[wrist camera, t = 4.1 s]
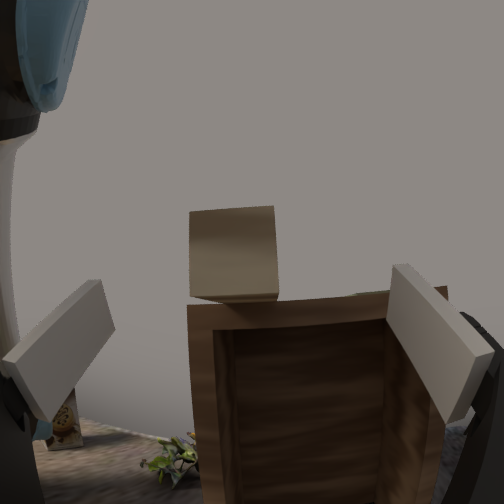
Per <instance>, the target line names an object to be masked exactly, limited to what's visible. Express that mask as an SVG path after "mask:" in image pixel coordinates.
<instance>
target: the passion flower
mask: <svg viewBox="0 0 504 504" xmlns="http://www.w3.org/2000/svg"><path fill="white" fill-rule="evenodd" d="M187 435H189V436H190V437H191V438H192V439H194V440H195V443H194V444H191V445H190V443H188V442H187V441H185V440H183V439H181V438H180V439H181V440H180V439H179V438H178V437H172V438H171V439H170V438H169V441H171V442H167V441H164V440H161V439H160V438H159V437H158V438H157V439H158V442H159V443H160V444H162V445H163V446H164V448H163V451H162V454H164V453H168V452H169V454H170V455H169V456H168V457H167V458H165V457H163V456H157V457H156V458H155V459H154V460H153V461H152V462H150V463H146V459H142V461H141V463H140V466H141V467H142V468H143V464H144V463H145V464H148V468H149V470H150V472H152V471H156V470H159V471H161V470H162V471H161V473H160V476H159V482H160V484H162V480H163V477H164V475H165V474H166V473H167V472H169V473H171V475H172V480H173V487H172V489H171V490H173V488H174V487H175V485H176V484H177V482H179V480H180V479H182V478H183V475H184V474H185V473H186V472H187V471H188V470H189V469H190V468H191V467H193V466H194V465H195V467H196V470H197V471H198V472H199V464H198V456H197V447H196V438H195V434H194V433H189V432H187ZM178 453H179V454H180V455H178V456H176V455H177V454H178ZM181 459H183V463H184V462H186V463H193V464H192V465H191V466H190V467H188V468H187V470H185V471H184V472H183V473H180V472H181V469H182V466H183V463H182V465H181V467H180V469H176V468H175V466H174V462H175V461H177V460H181ZM170 468H172V469H174V470H175V471H176V472H177V473H175V472H171V471H169V469H170ZM199 473H200V472H199Z"/></svg>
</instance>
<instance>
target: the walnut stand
mask: <svg viewBox="0 0 504 504" xmlns="http://www.w3.org/2000/svg"><path fill="white" fill-rule="evenodd" d="M434 288H435V289H436V290H437V291H438V292H439V293H440V294H441V295H442V296H443V297H444V298H445V299H446V300H447V301H448V290H447V286H440V287H434ZM389 296H390V290H387V291H377V292H366V293H356V294H352V295H348V296H345V297H335V298H321V299H307V300H292V301H274V302H255V303H232V304H203V305H202V304H200V305H187V324H188V347H189V365H190V380H191V393H192V405H193V418H194V428H195V438H196V447H197V456H198V464H199V472H200V480H201V487H202V494H203V501H204V504H365V503H370V502H374V503H375V504H431V500H432V496H433V492H434V488H435V484H436V479H437V475H438V470H439V465H440V459H441V454H442V448H443V441H444V434H445V425H446V424H445V422H444V420H443V418H442V416H441V415H440V413H439V411H438V409H437V407H436V405H435V403H434V401H433V399H432V398H431V396H430V394H429V392H428V390H427V388H426V387H425V385H424V383H423V381H422V379H421V378H420V376H419V374H418V372H417V371H416V369H415V367H414V365H413V364H412V362H411V360H410V358H409V357H408V355H407V353H406V352H405V350H404V348H403V347H402V345H401V343H400V342H399V340H398V338H397V337H396V335H395V333H394V332H393V330H392V328H391V327H390V325H389V324H388V322H387V320H386V317H387V310H388V303H389Z"/></svg>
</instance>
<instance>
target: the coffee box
mask: <svg viewBox="0 0 504 504" xmlns="http://www.w3.org/2000/svg"><path fill="white" fill-rule="evenodd" d="M52 425H53V433H52V436H51V437H50V438H49V439H47V440H41V442H42V443H43V445H44V446H45V448H46V449H47V450H48V451H51V450H59V449H67V448H74V447H81V446H84V445H83V440H82V435H81V429H80V424H79V417H78V411H77V404H76V396H75V388H73V389H72V391H71V392H70V394H69V395H68V397H67V398H66V400H65V401H64V403H63V404H62V406H61V407H60V409H59V410H58V412H57V413H56V415H55V416H54V418H53V419H52Z"/></svg>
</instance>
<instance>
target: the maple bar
mask: <svg viewBox="0 0 504 504" xmlns="http://www.w3.org/2000/svg"><path fill="white" fill-rule="evenodd" d="M189 214H190V215H189V281H190V296H191V297H195V298H200V299H204V300H209V301H214V302H218V303H223V304H232V303H255V302H274V301H277V299H278V295H279V279H278V262H277V246H276V231H275V215H274V206H259V207H244V208H229V209H217V210H204V211H193V212H190V213H189Z"/></svg>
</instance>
